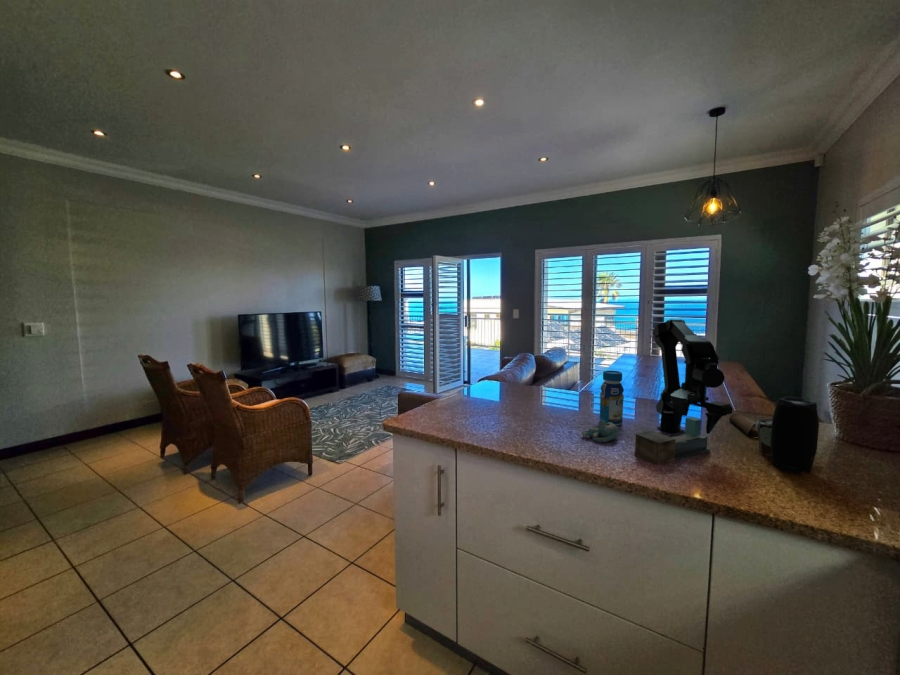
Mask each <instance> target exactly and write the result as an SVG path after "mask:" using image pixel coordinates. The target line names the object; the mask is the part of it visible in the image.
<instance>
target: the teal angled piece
mask: <svg viewBox="0 0 900 675" xmlns="http://www.w3.org/2000/svg"><path fill="white" fill-rule="evenodd" d="M684 430H685V431H684V432H685V433H686V434H684V435H680V436H675V437H671V438H674V439H676V440H675V443H677V442H682V441H686V440H690V439H695V438H699V437H701V433H702V419H701V418H697V417H694V416H690V417H689V416H688V417H685V424H684Z"/></svg>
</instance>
